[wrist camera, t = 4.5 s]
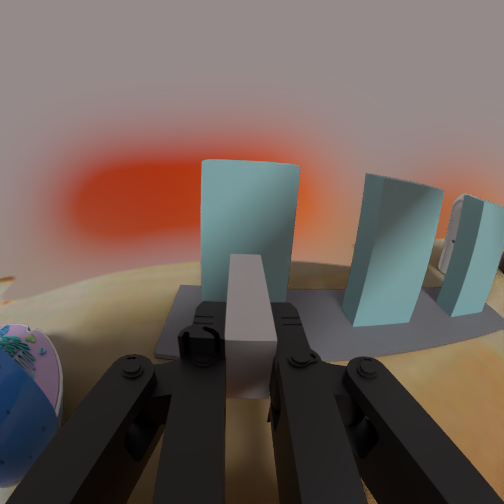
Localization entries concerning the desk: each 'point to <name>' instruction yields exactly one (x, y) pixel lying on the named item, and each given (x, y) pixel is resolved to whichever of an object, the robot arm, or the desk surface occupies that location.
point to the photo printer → (451, 233)
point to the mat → (348, 325)
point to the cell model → (27, 399)
